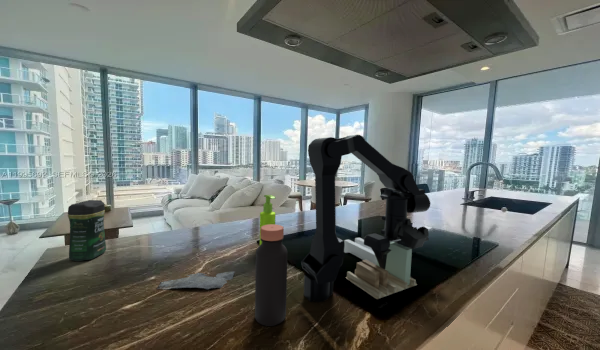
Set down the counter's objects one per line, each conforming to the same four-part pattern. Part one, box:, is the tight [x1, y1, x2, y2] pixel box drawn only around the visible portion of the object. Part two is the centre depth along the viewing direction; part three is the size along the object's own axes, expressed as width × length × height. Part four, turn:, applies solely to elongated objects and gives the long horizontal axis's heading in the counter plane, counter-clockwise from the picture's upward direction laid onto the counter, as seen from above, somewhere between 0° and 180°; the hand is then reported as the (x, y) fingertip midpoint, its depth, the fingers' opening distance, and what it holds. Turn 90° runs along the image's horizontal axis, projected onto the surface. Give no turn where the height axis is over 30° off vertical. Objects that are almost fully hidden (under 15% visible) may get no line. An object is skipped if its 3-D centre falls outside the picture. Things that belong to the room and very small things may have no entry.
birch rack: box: [345, 269, 418, 300], centre depth 69 cm, size 16×12×2 cm
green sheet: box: [377, 241, 413, 285], centre depth 71 cm, size 2×10×10 cm, turn 29°
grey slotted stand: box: [343, 237, 377, 265], centre depth 87 cm, size 7×16×4 cm, turn 29°
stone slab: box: [156, 271, 235, 290], centre depth 69 cm, size 18×2×10 cm
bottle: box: [254, 223, 288, 327], centre depth 54 cm, size 7×7×20 cm
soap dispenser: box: [259, 194, 277, 246], centre depth 95 cm, size 6×7×20 cm
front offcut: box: [355, 261, 380, 290], centre depth 67 cm, size 2×7×5 cm, turn 29°
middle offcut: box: [361, 259, 388, 288], centre depth 68 cm, size 2×8×5 cm, turn 29°
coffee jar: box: [67, 199, 107, 262], centre depth 82 cm, size 10×8×19 cm
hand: (392, 267), depth 72 cm, fingers open, 8 cm apart
